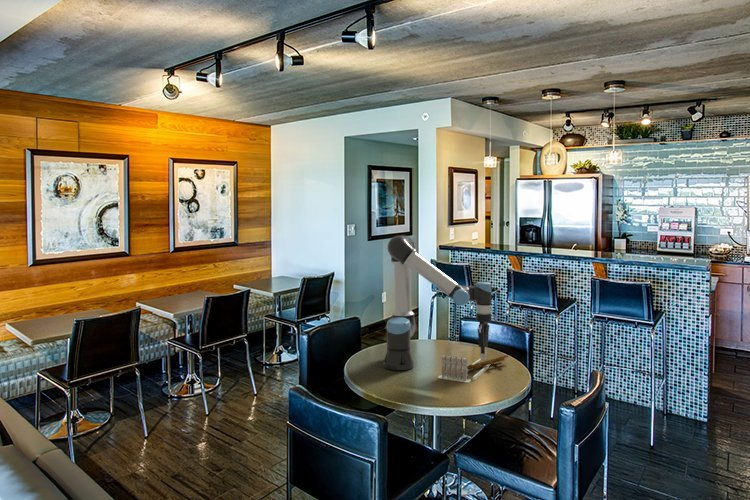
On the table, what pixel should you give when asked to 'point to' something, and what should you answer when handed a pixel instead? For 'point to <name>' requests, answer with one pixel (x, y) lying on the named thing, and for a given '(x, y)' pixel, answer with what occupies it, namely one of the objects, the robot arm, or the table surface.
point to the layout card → (454, 379)
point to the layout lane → (479, 371)
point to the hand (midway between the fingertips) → (483, 359)
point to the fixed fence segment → (454, 367)
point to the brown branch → (486, 362)
